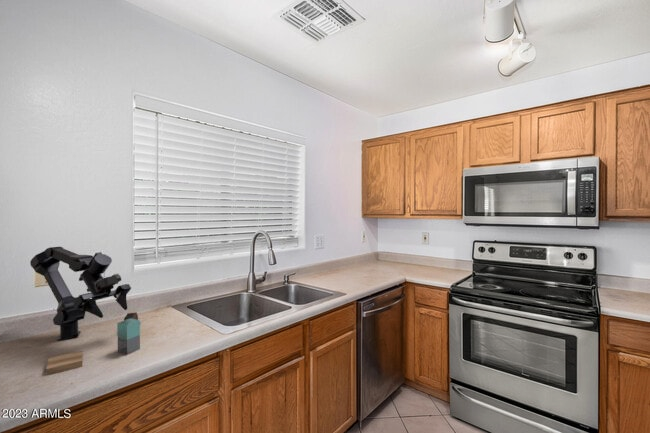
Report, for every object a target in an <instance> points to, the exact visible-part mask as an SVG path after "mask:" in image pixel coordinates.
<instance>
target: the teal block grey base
mask: <svg viewBox="0 0 650 433" xmlns="http://www.w3.org/2000/svg"><path fill="white" fill-rule="evenodd" d="M116 324H117V327H116V328H117V332H116V333H117V334H116V335H117V354H123V355H130V354H132V353H134V352H136V351H139V350H140V349H141V332H140V331H141V327H140V326H141V321H140V319H138V320H136V319H131V318H130V319H127V320H124V319H123V320H121V321H119V322H117V323H116Z"/></svg>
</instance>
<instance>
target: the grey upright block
mask: <svg viewBox="0 0 650 433" xmlns="http://www.w3.org/2000/svg"><path fill="white" fill-rule="evenodd" d="M130 318H131V319H136V320H139V316H138V312H137V311H129V312H127V314H126V315H125V317H124V318H123V321H124V320H127V319H130Z"/></svg>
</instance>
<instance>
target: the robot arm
mask: <svg viewBox="0 0 650 433" xmlns="http://www.w3.org/2000/svg"><path fill="white" fill-rule="evenodd" d="M61 262H62V263H64V264H67V265H68V268H69V269H70V270H72V271H73V272H74V273H77V272H81V273H80V275H79V278H78V281H79V282H82V281H83V282H84V284H85V286H86V288H87V289H86V292H87V293H82V294H79V295H78V296H76V297H75V296H73V294H72V293H71V291H70V289H69V287H68V285H67V284H66V282H65V280H64V278H63V276H62V274H61V273H60V271H59V267H60V264H61ZM112 262H113V259H112V257H110V256H108V255H107V254H104V253H102V251H100V252H95V253H94V254H93V255H91V254H78V253H75V252H73V251H70V250H69V249H66V248H64V247H63V246H51V247H47V248H46V249H44V250H43V251H41V252H39V253H37V254H36V255H34V256H33V257H32V258H31V260H30V266H31V268H32V269H33V270H34V272H35V273H36V274H38V275H41V276H42V277H43V278H44V279H45V281H46V283H47V285H48V286H49V288H50V290H51V292H52V295H53V296H54V298H55V299H56V301H57V304H58V305H57V308H56V315H55V316H54V317H53V319H52V321H53V322H52V323H53V325H55V326H59V329H60V330H59V331H60V333H59V336H58V338H57V341H63V340H71V339H76V338H78V337H79V336H80V334H81V330H79V321H81V320H84V319H85V316H86V313H89V314H92V315H95V316H97V317H98V318H100V319H102V318H104V314H103V312H102V311H101V309H100V308H99V305H98V304H97V301H99V300H102V299H106V298H109V297H113V298H115V301H116V303H117V304H118V305H119V306H120V307H121V308H122V309H123V310H124V311H127V310H128V302H127V294H128V293H129V292H130V291H131V289H132V287H131V285H130V284H128V283H126V284H120V285H118V284H119V282H121V281H122V277H121V275H120V274H119V273H114V274H113V275H111V276H106V277H103V275H102V274H104V273H105V272H106V271H107V269H108V268H109V267H110V265H111V264H112ZM115 285H118V286H117V287H116V289H114V287H115ZM113 289H114V290H113Z"/></svg>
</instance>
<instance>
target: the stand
mask: <svg viewBox="0 0 650 433" xmlns="http://www.w3.org/2000/svg"><path fill="white" fill-rule="evenodd" d="M83 355H84V354H83V350H79V351H74V352H70V353H65V354H61V355H58V356H53V357H49V358H48V360H47V364H46V368H45V375H46V376H49V375H53V374H58V373H61V372H64V371H69V370H74V369H78V368H82V367H83V359H84V358H83Z"/></svg>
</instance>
